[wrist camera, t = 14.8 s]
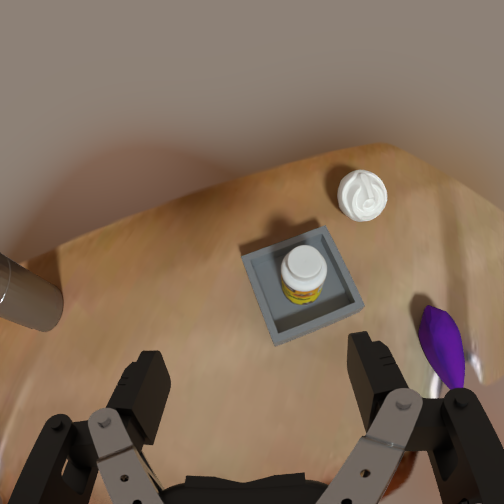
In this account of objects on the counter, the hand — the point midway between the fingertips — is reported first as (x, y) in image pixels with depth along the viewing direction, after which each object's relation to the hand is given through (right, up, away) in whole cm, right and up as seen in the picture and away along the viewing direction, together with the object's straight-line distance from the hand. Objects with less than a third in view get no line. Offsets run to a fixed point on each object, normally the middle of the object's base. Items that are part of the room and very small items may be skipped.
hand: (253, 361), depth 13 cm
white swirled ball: (+17, +12, +37) cm, 43 cm away
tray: (+7, -1, +33) cm, 33 cm away
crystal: (+27, -11, +26) cm, 39 cm away
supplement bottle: (+7, -1, +32) cm, 33 cm away
